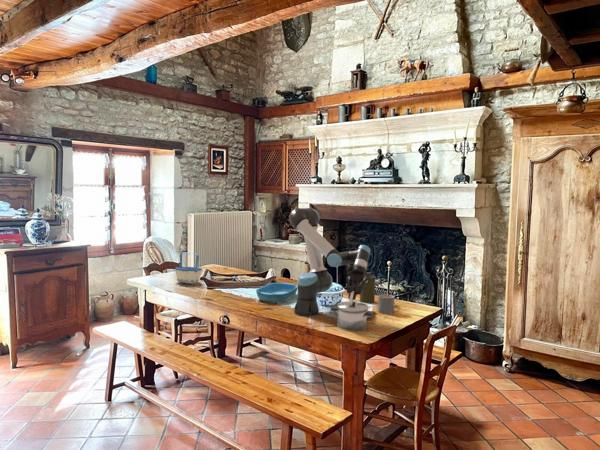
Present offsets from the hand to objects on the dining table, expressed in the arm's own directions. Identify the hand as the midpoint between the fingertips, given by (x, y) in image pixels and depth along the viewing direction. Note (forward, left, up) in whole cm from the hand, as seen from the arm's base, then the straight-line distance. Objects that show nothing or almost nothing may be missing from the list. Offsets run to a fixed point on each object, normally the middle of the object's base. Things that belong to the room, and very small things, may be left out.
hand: (350, 303), depth 226 cm
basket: (-146, +52, -14) cm, 156 cm away
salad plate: (-5, +30, -14) cm, 34 cm away
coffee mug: (+11, +46, -14) cm, 49 cm away
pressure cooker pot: (0, +5, -14) cm, 14 cm away
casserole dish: (-64, +44, -14) cm, 79 cm away
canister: (-6, +65, -14) cm, 67 cm away
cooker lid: (0, +5, -3) cm, 6 cm away
